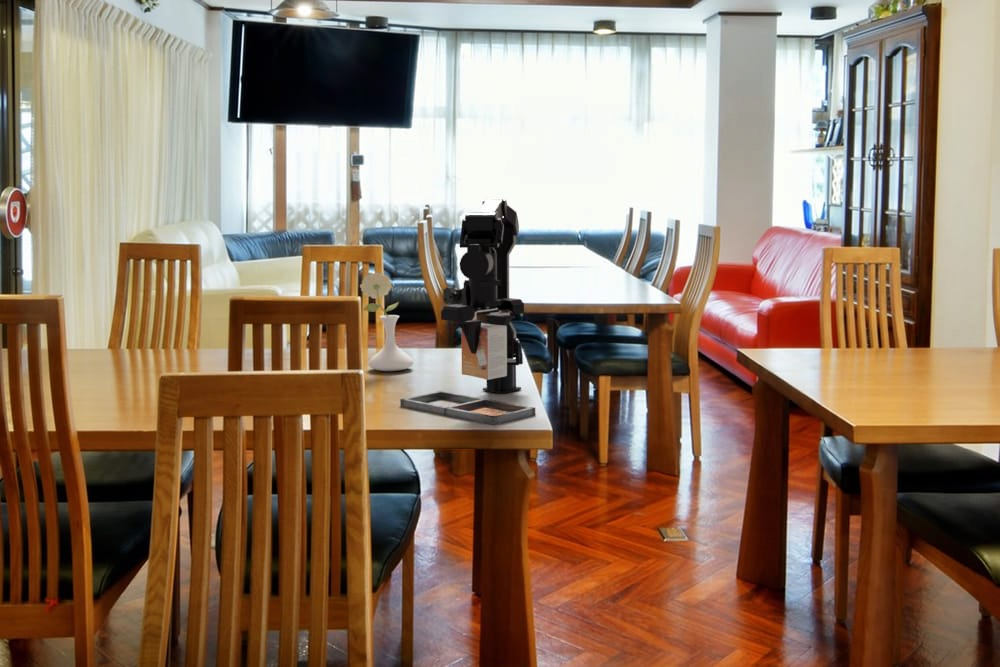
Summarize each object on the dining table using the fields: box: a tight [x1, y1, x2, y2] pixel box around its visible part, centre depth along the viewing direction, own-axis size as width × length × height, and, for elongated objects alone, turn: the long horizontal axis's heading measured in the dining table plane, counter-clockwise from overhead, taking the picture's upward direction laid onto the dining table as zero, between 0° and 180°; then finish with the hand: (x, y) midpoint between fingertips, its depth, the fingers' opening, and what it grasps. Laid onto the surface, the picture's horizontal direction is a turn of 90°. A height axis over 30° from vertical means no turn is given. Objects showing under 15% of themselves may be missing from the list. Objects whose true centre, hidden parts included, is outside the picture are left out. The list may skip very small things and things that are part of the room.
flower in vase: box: [359, 271, 414, 372], centre depth 274 cm, size 13×11×25 cm
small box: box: [460, 322, 507, 381], centre depth 221 cm, size 8×6×10 cm
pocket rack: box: [399, 390, 536, 426], centre depth 226 cm, size 12×28×2 cm, turn 46°
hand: (484, 351), depth 221 cm, fingers closed on small box, 6 cm apart
